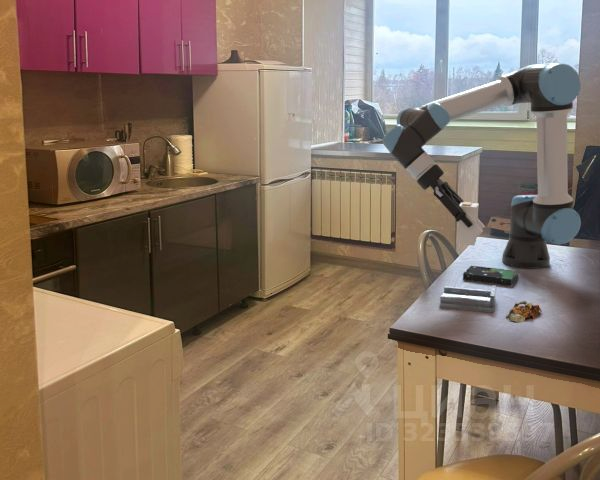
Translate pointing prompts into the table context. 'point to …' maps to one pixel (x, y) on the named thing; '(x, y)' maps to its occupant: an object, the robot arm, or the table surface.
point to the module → (462, 232)
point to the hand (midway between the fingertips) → (480, 231)
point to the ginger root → (523, 312)
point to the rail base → (468, 299)
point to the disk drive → (490, 275)
